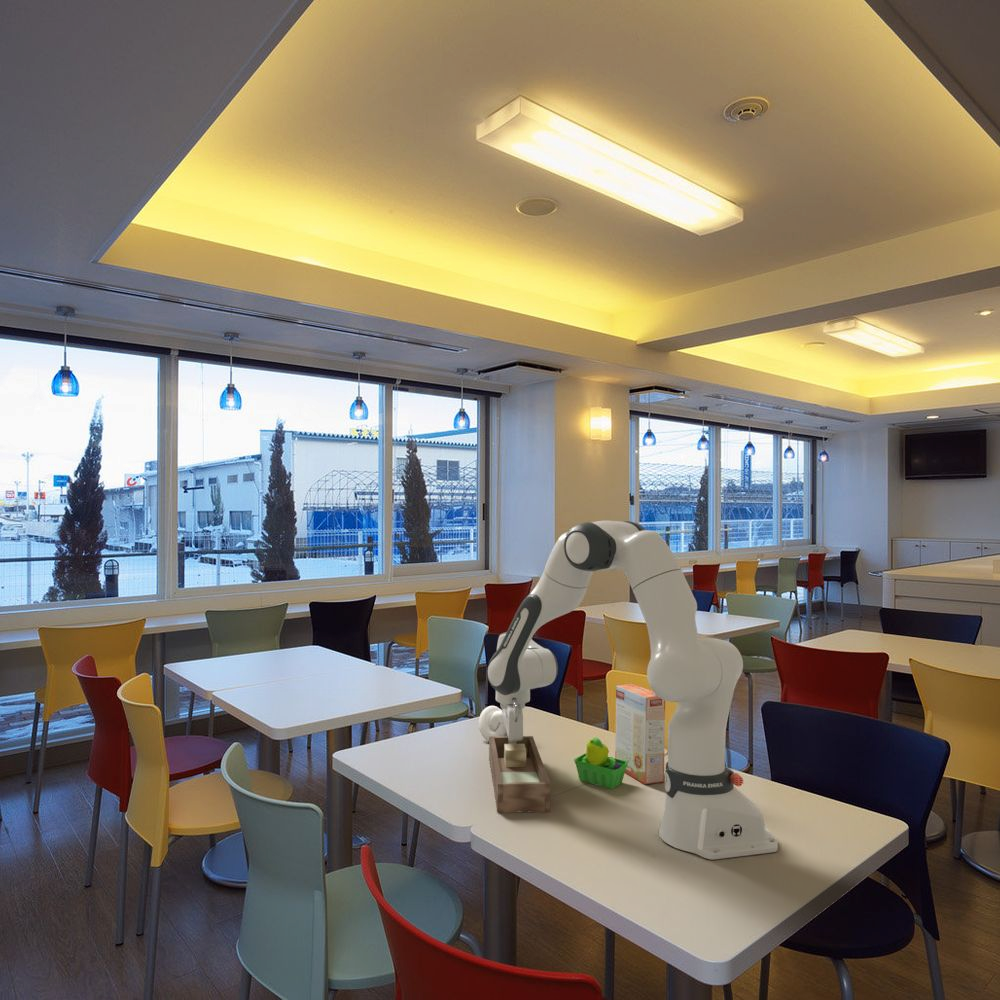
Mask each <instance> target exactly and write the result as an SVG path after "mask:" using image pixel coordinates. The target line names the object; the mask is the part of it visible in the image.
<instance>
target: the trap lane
mask: <svg viewBox="0 0 1000 1000" xmlns="http://www.w3.org/2000/svg"><path fill="white" fill-rule="evenodd" d="M488 742H489V743H488V744H489V747H488V753H489V754H488V762H489V761H490V762H489V768H491V769H490V772H491V773H490V775H491V774H492V775H491V779H492V780H491V781H492V787H494V788H493V792H494V799H495V800H496V801H495V806H496V813H497V812H501V813H519V812H518V811H521V812H520V813H529V812H528V811H531V812H530V813H550V812H551V782H550V779H549V777H548V773H547V771H546V768H545V765H544V762H543V760H542V758H541V755H540V752H539V749H538V747H537V743H536V741H535V739H534V736H533V735H527V736H526V735H523V739H522V740H521V741H516V744H525V748H526V767H505V762H504V744H508V736H506V735H505V736H494V737H489V741H488ZM532 811H533V812H532Z"/></svg>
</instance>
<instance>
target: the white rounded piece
mask: <svg viewBox="0 0 1000 1000" xmlns="http://www.w3.org/2000/svg"><path fill="white" fill-rule="evenodd" d="M478 727H479V728H478V729H479V731H480V734H481V736H482V737H483V739H484V740H486V741H487V742H489V737H494V736H507V732H506V728H505V724H504V720H503V715H502V708H501V707H500V708H499V707H498V706H495V705H489V706H487V707H485V708H484V709H482V711H481V712H480V715H479V719H478Z"/></svg>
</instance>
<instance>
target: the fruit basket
mask: <svg viewBox="0 0 1000 1000" xmlns="http://www.w3.org/2000/svg"><path fill="white" fill-rule="evenodd" d="M585 751H586V752H585V753H583V754H581V755H579V756H577V757H575V758H574V759H573V761H574V764H575V767H576V771H577V775H578V779H579V781H581V780H583V781H582V782H584V781H587V783H588V782H590V783H589V784H592V783H594V784H593V785H596V784H597V786H599V785H600V787H603V786H605V787H604V788H607V789H611V790H612V789H614V788H616V787H617V785H618V786H619V785H620V783H621V784H622V783H623V781H624V775H625V774H626V773H625V770H626V767H627V765H628V762H627V761H624V760H620V759H615V757H613V756H609V752H610V751H609V748H608V747H607V745H605V744H604V743H603V742H602V741H601V740H600V739H599V738H598V737H593V738H591V739H590V740H589V741H588V742H587V743H586V750H585Z"/></svg>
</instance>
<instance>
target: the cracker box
mask: <svg viewBox="0 0 1000 1000" xmlns="http://www.w3.org/2000/svg"><path fill="white" fill-rule="evenodd" d="M665 722H666V701H665V700H663V699H661V698H659V697H658V696H657V695H656V694H655V693H654V692H653V690H651V689H648V688H646V687H642V686H640V685H637V684H634V683H627V684H618V685H616V686H615V737H614V738H615V739H614V740H615V743H614V745H615V747H614V748H615V750H614V751H615V756H614V758H615V759H620V760H624V761H627V762H628V765H627V767H626V770H625V773H624V774H627V775H629V776H630V777H632V778H633V779H636V780H637V781H639V782H641V783H642V784H643V785H648V784H649V785H650V784H658V783H665V751H666V750H665V742H666V741H665V739H666V737H665V736H666V735H665V733H666V731H665V730H666V728H665V727H666V723H665Z"/></svg>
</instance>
